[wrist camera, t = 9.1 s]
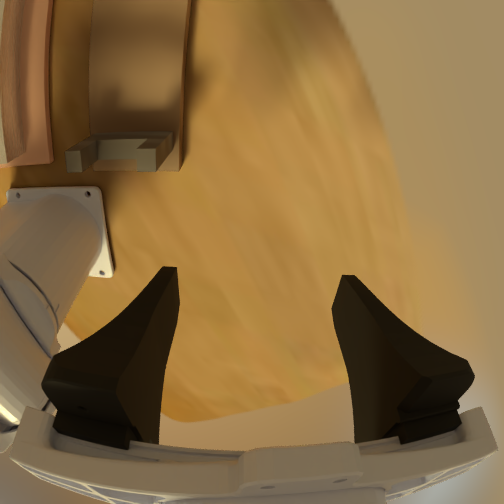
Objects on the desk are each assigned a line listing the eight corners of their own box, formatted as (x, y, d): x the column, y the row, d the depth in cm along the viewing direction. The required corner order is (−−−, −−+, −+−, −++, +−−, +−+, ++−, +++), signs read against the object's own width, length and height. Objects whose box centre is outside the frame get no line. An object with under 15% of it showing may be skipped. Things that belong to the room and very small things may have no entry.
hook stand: (182, 165, 20) (164, 197, 15) (100, 165, 19) (64, 196, 15) (201, -72, 10) (189, -108, 6) (111, -61, 10) (77, -86, 6)
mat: (-7, 166, 18) (-11, 169, 18) (-4, -32, 8) (-8, -32, 8) (54, 160, 19) (49, 163, 18) (65, -62, 9) (61, -64, 8)
